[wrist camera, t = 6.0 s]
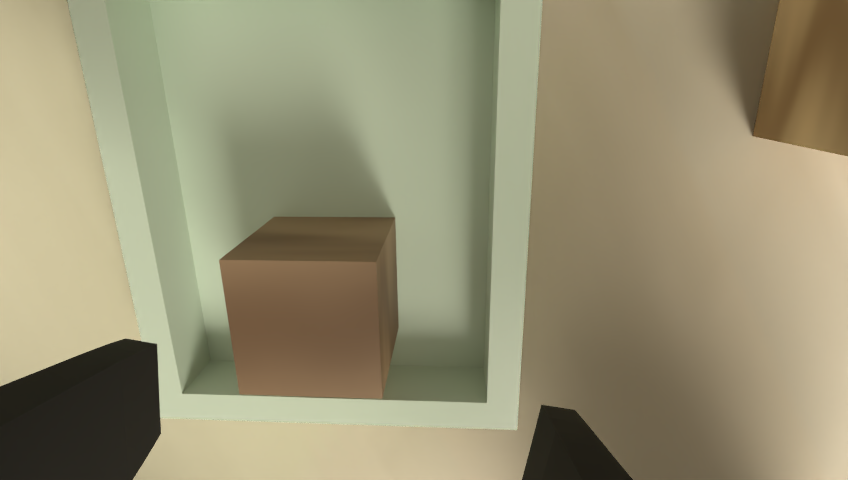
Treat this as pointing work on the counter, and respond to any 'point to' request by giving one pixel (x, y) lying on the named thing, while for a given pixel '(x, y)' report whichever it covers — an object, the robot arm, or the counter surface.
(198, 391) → the tray
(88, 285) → the counter surface
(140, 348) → the robot arm
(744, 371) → the counter surface
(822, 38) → the block
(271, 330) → the block
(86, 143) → the counter surface
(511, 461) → the counter surface
